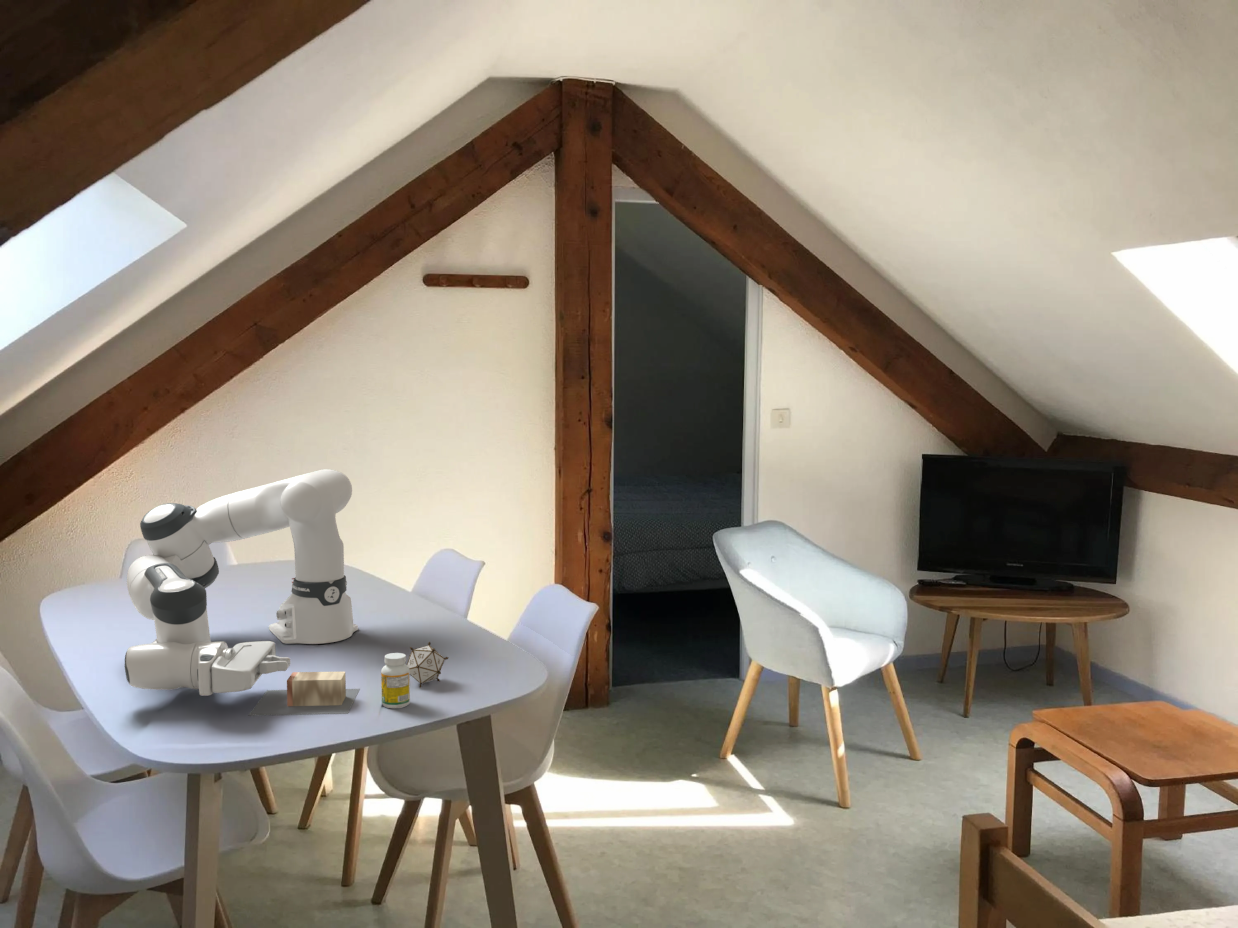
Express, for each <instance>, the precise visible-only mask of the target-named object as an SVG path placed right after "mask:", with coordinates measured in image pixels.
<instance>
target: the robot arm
mask: <svg viewBox="0 0 1238 928" xmlns="http://www.w3.org/2000/svg"><path fill="white" fill-rule="evenodd" d="M352 495H353V486H352V482H351V481H350V479H349V478H348V476H347V475H346V474H344V473H343V472H341V471H339V470H336V469H329V468H324V469H319V470H315V471H312V472H307V473H304V474H300V475H296V476H293V477H292V476H291V477H289V478H286V479H282V480H277V481H275V482H271V483H266V484H262V485H259V486H256V487H255V486H254V487H251V488H247V489H244V490H239V491H236V492H233V493H232V492H231V493H229V494H226V495H225V494H224V495H222V496H220V497H216V498H214V499H211V500H209V501H206V502H205V503H203V504H201V505H199V506H198V507H197V508H196V507H194V506H192V505H184V504H183V503H176V502H166V503H163V504H159V505H158V506H157V505H156V506H155V507H154V508H152V509H150V510H149V511H147V512H146V514H145V515H144V516H143V517H142V519H141V520H140V522H139V526H140V531H141V535H142V537H143V539H144V540H145V541H146V542H147V544H148V547H149V549H150V552H151V553H152V554H147V555H143V556H140V557H139V558H136V559H135V560H134V561H132V563H131V564H130V566H129V567H128V570H127V575H126V586H127V592H128V595H129V597H130V600H131V602H132V605H133V606H134V608H135V609H136V611H137V612H138V613H139V614H140V615H141V616H143V617H144V618H146V619H148V620H151V621H154V628H155V634H156V635H155V636H156V639H154V640H153V642H151V643H143V644H138V645H137V644H136V645H132V646H129V647H128V649H127V650H126V652H125V656H124V673H125V677H126V681H127V682H128V684H129V686H130V687H131V686H132V687H133V688H137V689H142V690H160V691H161V690H162V691H164V690H165V691H167V690H169V691H172V690H177V689H181V688H188V689H191V690H198V693H199V696H202V697H203V696H206V697H207V696H212V695H213V694H214V693H215V694H225V693H227V694H228V693H240V692H244V691H248V690H250V689H252V688H253V687H254V685H255V684H256V682H257V681H258V680H259V679H260V678H261V677H262V675H267V674H271V673H276V672H286V671H287V670H288V669H289V668H290V666H291V658H290V657H288V656H286V657H285V656H284V657H282V656H278V655H277V654H276V653H277V651H276V643H275V642H274V641H270V640H262V641H261V640H260V641H259V640H258V641H246V642H245V641H244V642H239V643H236V644H235V645H234V646H233V647H229V646H228V644H227V642H226V641H211V634H210V623H209V615H208V607H207V606H208V601H207V598H208V597H207V596H208V595H207V588H208V587H210V586H211V585H212V584H213V583H214V582H216V580H217V577H218V576H219V573H220V570H219V569H220V568H219V565H218V561H217V558H216V557H215V556H213V552H212V550H211V548H210V545H211V544H214V543H215V544H217V543H220V544H221V543H229V542H236V541H240V540H245V539H248V538H253V537H256V536H260V535H264V534H269V533H272V532H277V531H280V530H283V529H286V528H290V532H291V537H292V541H293V543H292V544H293V550H294V552H293V553H294V576H295V577H292V578H291V580H293V581H291V591H290V592H291V594H290V595H289V596H288V597H287V598H286V599H285V600H284V601H283V602H282V603H281V604H280V605H279V610H276V612H275V613H276V616H275V617H276V619H277V620H278V621H276V622H273V623H271V624H269V625H268V630H269V631H270V632H271V633H272V634H273V635H274V636H275V637H276V638H277V639H278V640H279V641H280V642H281V643H283V644H305V645H306V644H307V645H318V644H329V643H334V642H335V643H336V642H340V641H343V640H347V639H349V638H350V637H352V636H353V633H354V632H357V631H358V630H359V625H358V624H355V623H354V617H353V616H354V615H353V608H352V607H353V606H352V597H351V596H349V595H348V594H347V593H346V592H347V584H348V582H347V577H346V575H345V558H344V556H345V551H344V550H345V549H344V548H345V547H344V542H343V540H342V539H341V536H340V533H339V530H338V525H337V519H336V517H337V516H336V514H338V513H340V512H341V511H342V510H343V509H344V508H345V507H346V506H348V503H349V502H350V500H351V497H352Z"/></svg>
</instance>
